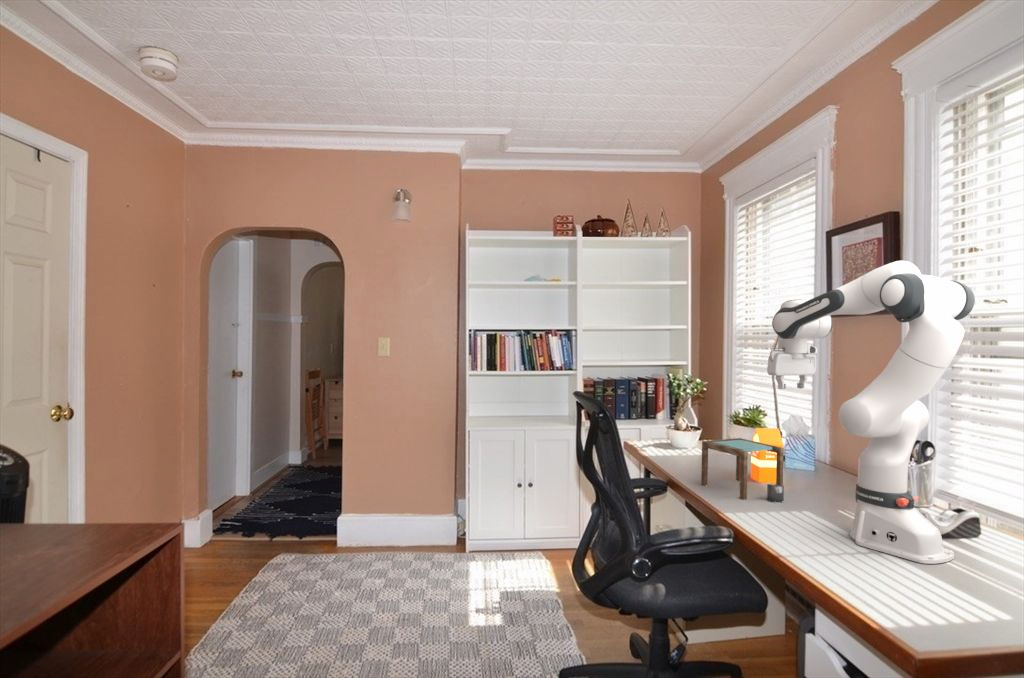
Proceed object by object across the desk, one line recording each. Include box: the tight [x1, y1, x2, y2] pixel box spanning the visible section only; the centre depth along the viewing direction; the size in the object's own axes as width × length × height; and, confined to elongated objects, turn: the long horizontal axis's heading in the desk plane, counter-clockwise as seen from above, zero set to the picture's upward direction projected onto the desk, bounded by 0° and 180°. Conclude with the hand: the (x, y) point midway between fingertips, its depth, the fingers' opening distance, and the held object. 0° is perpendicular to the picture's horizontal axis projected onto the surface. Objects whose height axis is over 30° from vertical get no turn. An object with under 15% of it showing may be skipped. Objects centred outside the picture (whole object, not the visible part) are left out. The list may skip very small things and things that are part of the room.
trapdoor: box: [712, 440, 772, 453], centre depth 195 cm, size 14×14×1 cm
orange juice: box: [750, 427, 784, 484], centre depth 207 cm, size 8×9×20 cm
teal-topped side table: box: [700, 437, 785, 500], centre depth 195 cm, size 19×19×16 cm
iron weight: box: [766, 483, 785, 503], centre depth 182 cm, size 5×5×5 cm
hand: (791, 388), depth 185 cm, fingers open, 8 cm apart
